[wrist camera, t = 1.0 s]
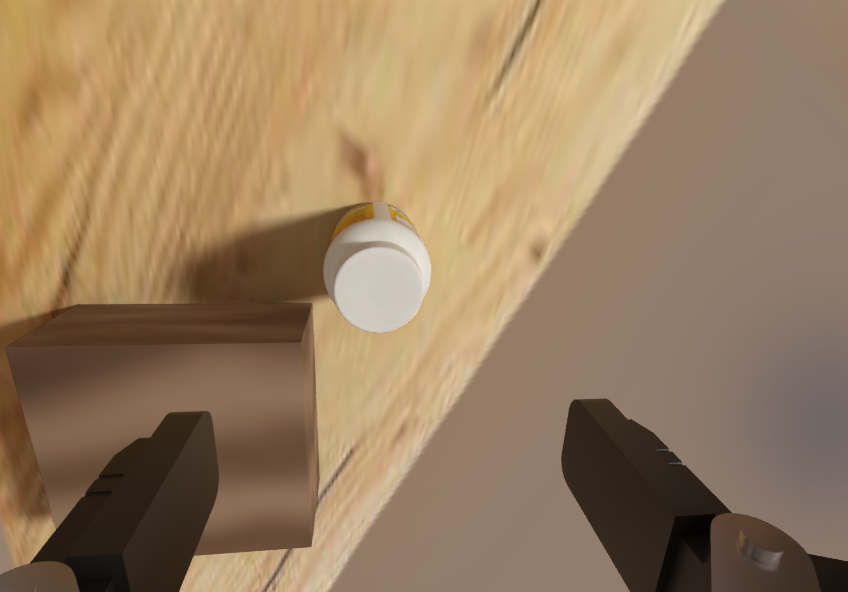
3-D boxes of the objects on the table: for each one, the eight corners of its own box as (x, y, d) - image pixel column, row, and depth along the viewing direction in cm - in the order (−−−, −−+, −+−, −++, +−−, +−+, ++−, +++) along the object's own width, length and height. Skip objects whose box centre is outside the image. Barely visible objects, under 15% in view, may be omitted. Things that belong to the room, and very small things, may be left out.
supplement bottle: (422, 206, 29) (450, 239, 20) (410, 287, 30) (431, 351, 21) (335, 195, 28) (322, 223, 19) (327, 279, 29) (313, 342, 20)
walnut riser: (76, 304, 28) (4, 347, 22) (312, 303, 30) (300, 342, 24) (117, 490, 33) (66, 565, 27) (319, 479, 34) (311, 547, 29)
